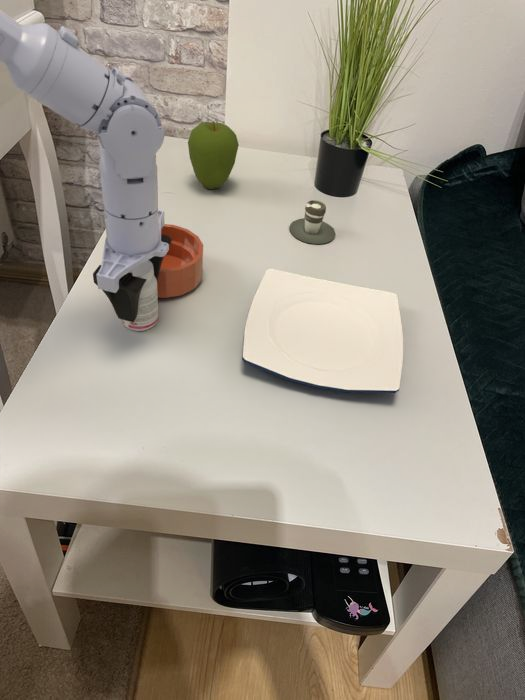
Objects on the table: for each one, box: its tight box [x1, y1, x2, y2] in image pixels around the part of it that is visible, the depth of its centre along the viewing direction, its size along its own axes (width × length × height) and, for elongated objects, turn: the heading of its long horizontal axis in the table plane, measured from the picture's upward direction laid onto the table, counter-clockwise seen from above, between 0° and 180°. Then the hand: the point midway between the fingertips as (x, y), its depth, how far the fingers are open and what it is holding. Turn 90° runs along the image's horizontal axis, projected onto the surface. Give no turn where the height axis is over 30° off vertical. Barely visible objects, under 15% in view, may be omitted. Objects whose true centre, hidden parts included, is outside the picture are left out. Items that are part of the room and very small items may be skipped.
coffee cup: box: [288, 199, 336, 245], centre depth 86 cm, size 12×12×5 cm
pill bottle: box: [120, 260, 159, 332], centre depth 65 cm, size 5×5×8 cm
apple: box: [187, 121, 240, 190], centre depth 90 cm, size 9×8×12 cm
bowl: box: [157, 223, 204, 299], centre depth 73 cm, size 11×11×5 cm
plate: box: [241, 268, 404, 394], centre depth 68 cm, size 20×20×3 cm
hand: (137, 302), depth 66 cm, fingers open, 6 cm apart
